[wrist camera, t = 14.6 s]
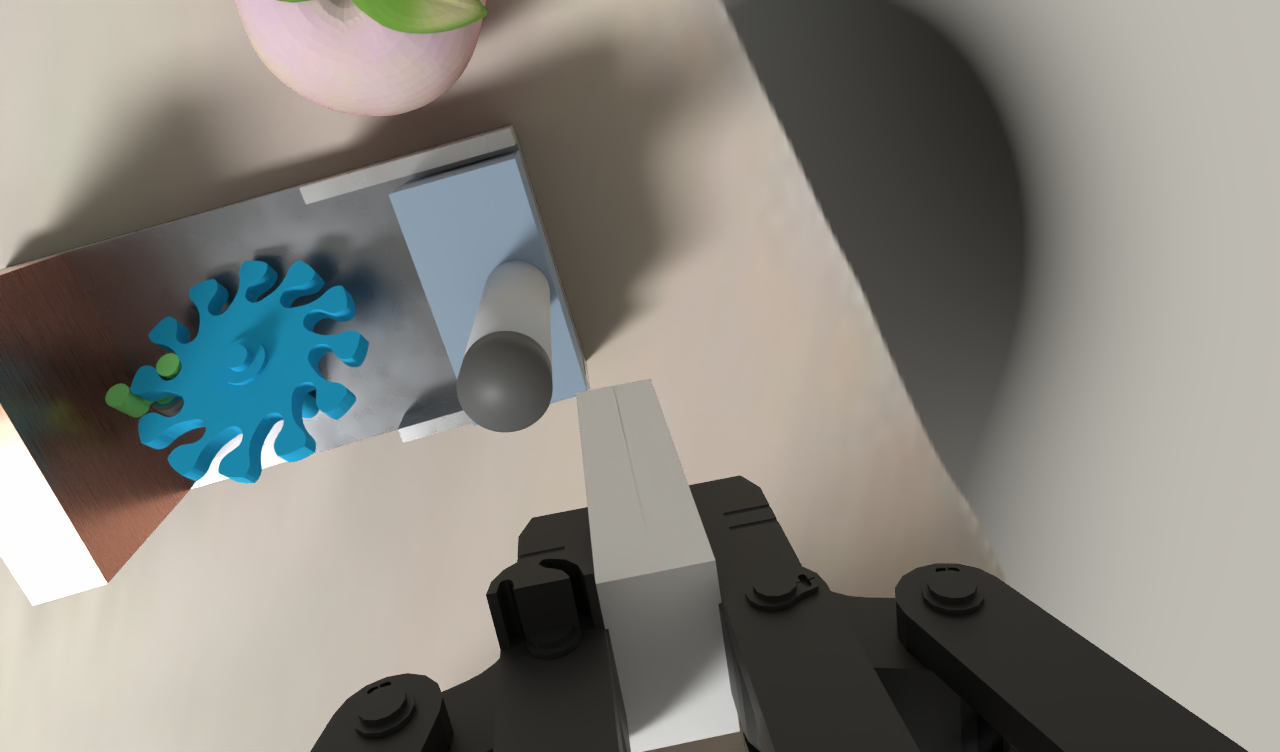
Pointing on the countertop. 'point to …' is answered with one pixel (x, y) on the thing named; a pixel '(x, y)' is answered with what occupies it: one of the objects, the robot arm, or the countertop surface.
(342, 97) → the decorative fruit
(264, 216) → the frame
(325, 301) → the gear
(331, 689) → the countertop surface
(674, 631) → the robot arm
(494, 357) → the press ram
